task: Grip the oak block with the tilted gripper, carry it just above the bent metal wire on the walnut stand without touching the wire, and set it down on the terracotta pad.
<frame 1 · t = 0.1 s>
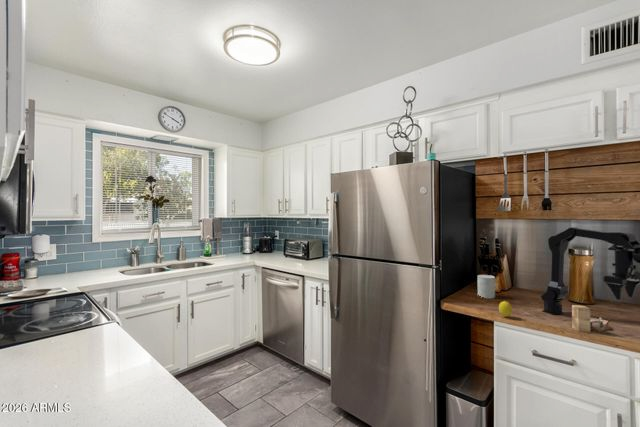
hand: (624, 298, 127), 15 cm above the counter, tool pointing down, fingers open, 9 cm apart
wire stand: (598, 327, 132), on the counter
lemon: (505, 317, 147), on the counter
white cylinder: (486, 296, 184), on the counter
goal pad: (596, 321, 140), on the counter
oak block: (581, 329, 130), on the counter
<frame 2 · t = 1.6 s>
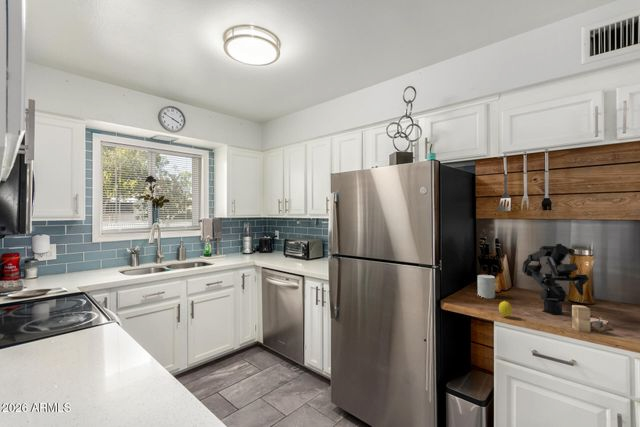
hand: (570, 294, 138), 13 cm above the counter, tool tilted 45°, fingers open, 9 cm apart
nothing on the counter moved.
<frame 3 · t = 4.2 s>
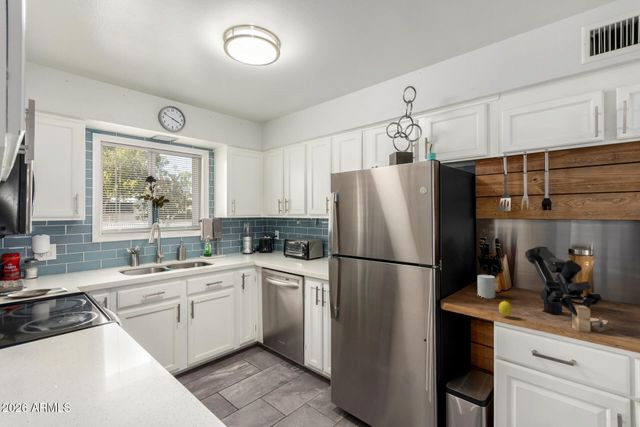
hand: (583, 315, 129), 7 cm above the counter, tool tilted 45°, fingers closed on oak block, 4 cm apart
oak block: (581, 329, 130), on the counter, touching gripper
everything else where it was.
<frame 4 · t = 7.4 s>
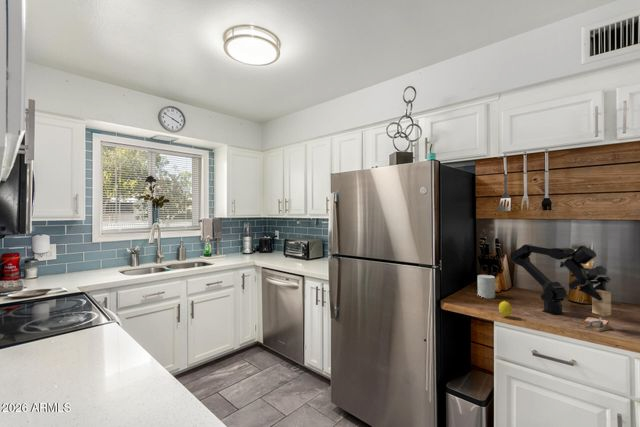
hand: (605, 299, 130), 13 cm above the counter, tool tilted 45°, fingers closed on oak block, 4 cm apart
oak block: (601, 313, 132), point 6 cm above the counter, touching gripper
everything else where it was.
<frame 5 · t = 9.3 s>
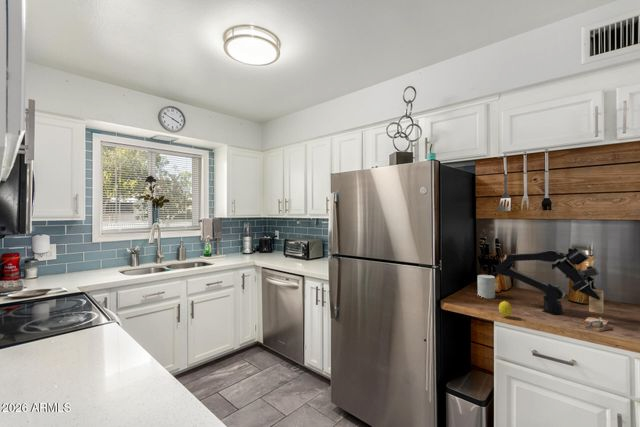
hand: (600, 298, 139), 11 cm above the counter, tool tilted 45°, fingers closed on oak block, 4 cm apart
oak block: (596, 311, 140), point 5 cm above the counter, touching gripper
everything else where it was.
when the fingers open (8 cm above the counter, at t = 10.9 s): oak block drops 1 cm, resting on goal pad.
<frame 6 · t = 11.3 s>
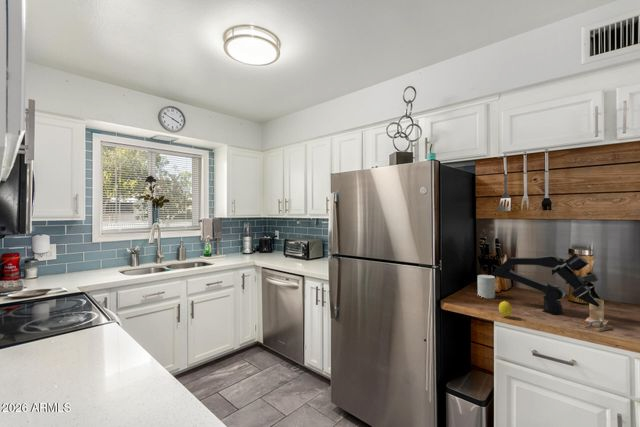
hand: (600, 304, 139), 8 cm above the counter, tool tilted 45°, fingers open, 9 cm apart
oak block: (596, 320, 140), resting on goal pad
everything else where it was.
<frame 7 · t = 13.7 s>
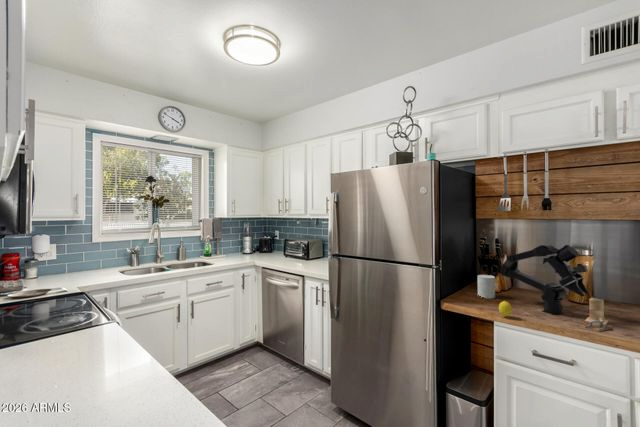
hand: (585, 294, 142), 12 cm above the counter, tool tilted 40°, fingers open, 9 cm apart
nothing on the counter moved.
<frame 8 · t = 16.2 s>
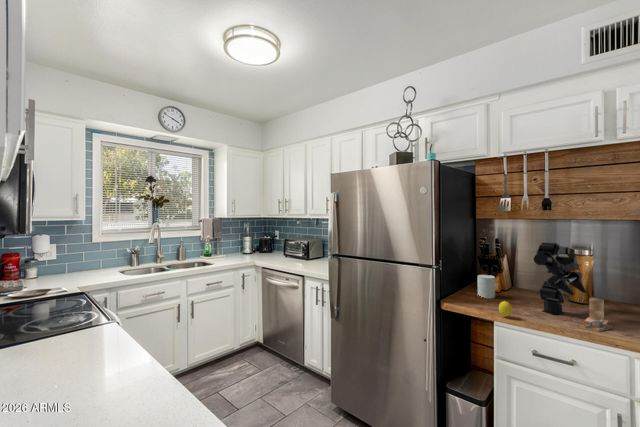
hand: (579, 293, 138), 14 cm above the counter, tool tilted 45°, fingers open, 9 cm apart
nothing on the counter moved.
at the end: oak block 0.1 cm off-centre on the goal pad, point 0.4 cm above the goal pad's base; oak block tilted 0°; oak block touching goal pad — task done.
